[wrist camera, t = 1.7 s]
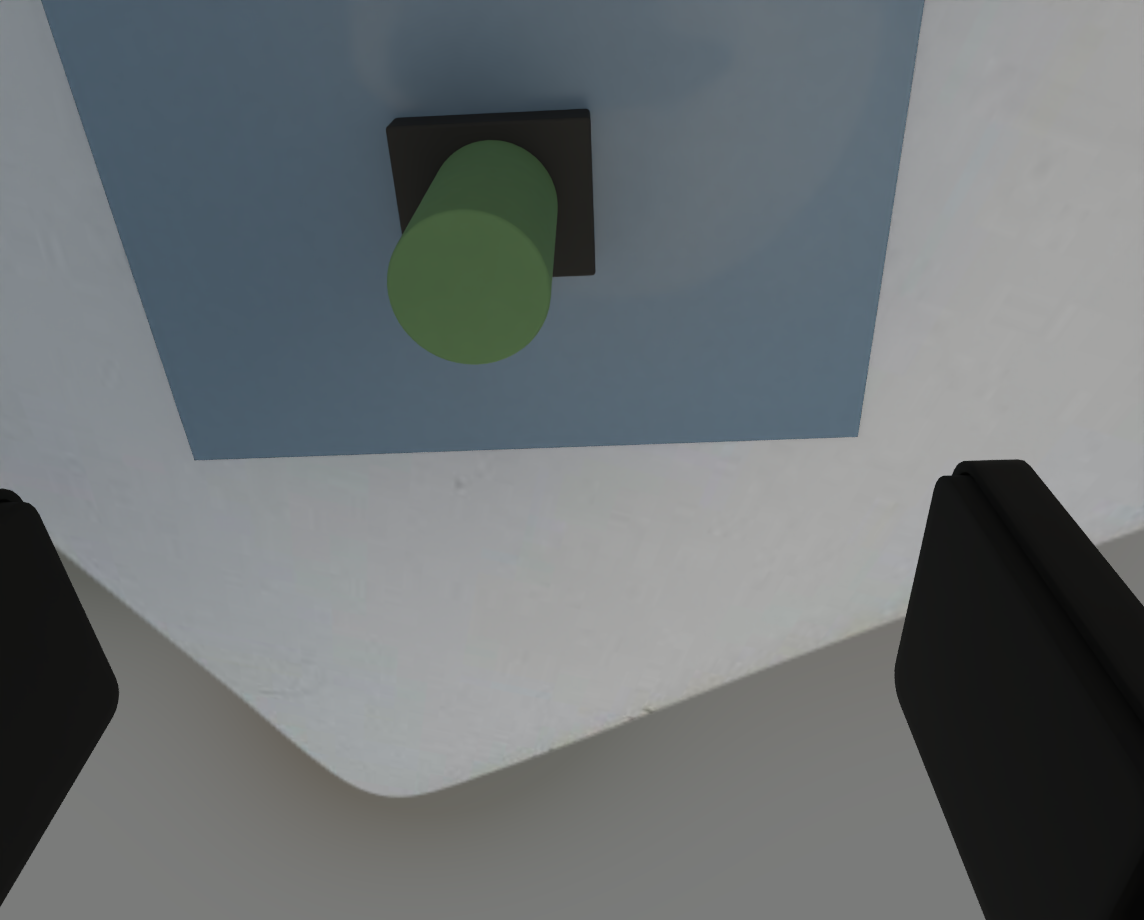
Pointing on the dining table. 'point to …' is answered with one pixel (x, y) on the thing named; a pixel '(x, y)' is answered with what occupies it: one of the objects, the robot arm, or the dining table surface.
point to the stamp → (487, 226)
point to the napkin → (578, 303)
